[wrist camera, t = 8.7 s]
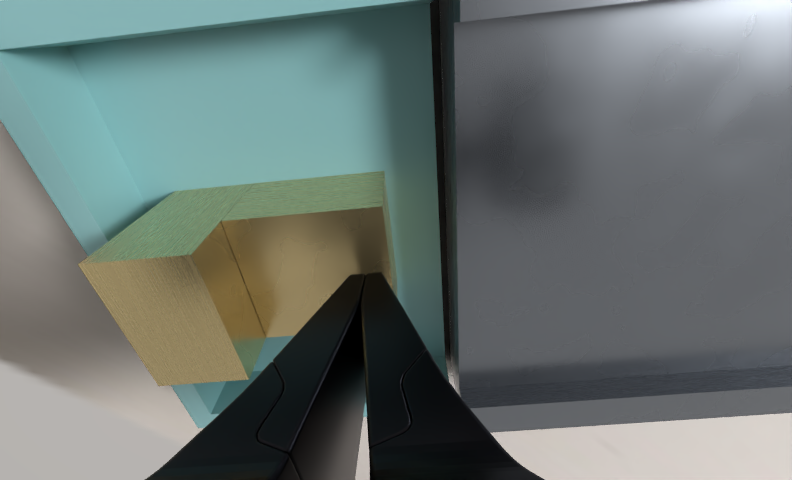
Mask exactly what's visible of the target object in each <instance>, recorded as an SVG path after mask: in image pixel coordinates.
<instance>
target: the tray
mask: <svg viewBox="0 0 792 480" xmlns="http://www.w3.org/2000/svg"><path fill="white" fill-rule="evenodd" d="M432 1H434V0H0V120H1V121H2V123H3V125H4V126H5V128H6V129H7V131H8V132H9V134H10V136H11V137H12V139H13V140H14V142H15V143H16V145H17V146H18V148H19V150H20V151H21V153H22V154H23V156H24V157H25V159H26V160H27V162H28V164H29V165H30V167H31V168H32V170H33V171H34V173H35V174H36V176H37V178H38V179H39V181H40V182H41V184H42V185H43V187H44V188H45V190H46V192H47V193H48V195H49V196H50V198H51V199H52V201H53V202H54V204H55V206H56V207H57V209H58V210H59V212H60V213H61V215H62V217H63V218H64V220H65V221H66V223H67V224H68V226H69V227H70V229H71V231H72V232H73V234H74V235H75V237H76V238H77V240H78V241H79V243H80V245H81V246H82V248H83V249H84V251H85V252H86V254H87V255H88V256H90V255H91V254H92V253H94V252H95V251H96V250H98V249H99V248H100V247H102V246H103V245H104V244H106V243H107V242H108V241H110V240H111V239H112V238H114V237H115V236H116V235H118V234H119V233H120V232H121V231H123V230H124V229H125V228H127V227H128V226H129V225H131V224H132V223H133V222H135V221H136V220H137V219H139V218H140V217H141V216H143V215H144V214H145V213H147V212H148V211H149V210H151V209H152V208H153V207H155V206H156V205H157V204H159V203H160V202H161V201H163V200H164V199H165V198H166V197H168V196H169V195H170V194H172V193H173V192H174V191H180V190H191V189H201V188H211V187H222V186H232V185H242V184H253V183H262V182H272V181H283V180H293V179H303V178H314V177H324V176H335V175H345V174H355V173H366V172H376V171H385V180H386V188H387V197H388V205H389V213H390V222H391V230H392V239H393V247H394V256H395V264H396V272H397V298H398V300H399V302H400V304H401V305H402V307H403V309H404V310H405V312H406V314H407V315H408V317H409V319H410V320H411V322H412V324H413V325H414V327H415V329H416V330H417V332H418V334H419V335H420V337H421V339H422V341H423V342H424V344H425V346H426V347H427V350H428V351H429V352H430V354H431V355H432V357H433V359H434V360H435V362H436V364H437V365H438V367H439V368H440V370H441V371H442V373H443V374H444V376H445V377H446V379H447V380H448V381H449V379H448V373H447V367H446V360H445V346H444V323H443V300H442V276H441V253H440V230H439V207H438V184H437V161H436V138H435V115H434V92H433V69H432V46H431V23H430V3H431V2H432ZM294 336H295V335H294ZM294 336H281V337H268V338H267V337H266V339H265V342H264V344H263V347H262V349H261V352H260V354H259V357H258V359H257V362H256V364H255V366H254V369H253V371H252V374H251V376H250V379H249V380H235V381H222V382H208V383H194V384H181V385H171V386H172V388H173V389H174V391H175V393H176V394H177V396H178V397H179V399H180V400H181V402H182V403H183V405H184V407H185V408H186V410H187V411H188V413H189V414H190V416H191V417H192V419H193V421H194V422H195V424H196V425H197V427H198V428H205V427H206V426H207V425H208V424H209V423H210V422H211V421H212V420H214V419H215V418H216V417H217V416H218V415H219V414H220V413H221V412H222V411H223V410H224V409H225V408H226V407H227V406H228V405H229V404H231V403H232V402H233V401H234V400H235V399H236V398H237V397H238V396H239V395H240V394H241V393H242V392H243V391H244V390H245V389H246V388H247V387H248V386H249V385H250V384H251V383H252V382H253V380H254V379H255V378H256V377H257V376H258V375H259V374H260V373H261V372H262V371H263V370H264V369H265V368H266V367H267V365H268V364H269V363H270V362H273V359H274V358H275V357H276V356H277V355H278V353H279V352H280V351H281V350H282V349H283V348H284V347H285V346H286V345H287V344H288V342H289V341H290V340H291V339H292V338H293V337H294ZM366 416H367V407H366V399H365V406H364V414H363V417H366Z"/></svg>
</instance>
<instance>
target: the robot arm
mask: <svg viewBox="0 0 792 480" xmlns="http://www.w3.org/2000/svg"><path fill="white" fill-rule="evenodd" d="M365 399H366V407H367V424H368V441H369V450H370V451H369V458H370V480H544V479H542V478H541V477H539V476H537V475H536V474H534V473H532V472H531V471H529V470H527V469H526V468H524V467H523V466H522V465H520V464H519V463H518V462H517V461H515V460H514V459H513V458H512V457H511V456H510V455H509V454H508V453H507V452H506V451H505V450H504V449H503V448H502V446H501V445H500V444H499V443H498V442H497V441H496V439H495V438H494V437H493V436H492V435H491V433H490V432H489V431H488V430H487V429H486V427H485V426H484V425H483V424H482V422H481V421H480V420H479V419H478V418H477V416H476V415H475V414H474V413H473V412H472V410H471V409H470V408H469V407H468V405H467V404H466V403H465V402H464V401H463V399H462V398H461V397H460V396H459V394H458V393H457V392H456V390H455V389H454V388H453V387H452V385H451V384H450V383H449V381H448V380H447V379H446V377H445V376H444V374H443V373H442V371H441V370H440V368H439V367H438V365H437V364H436V362H435V360H434V359H433V357H432V355H431V354H430V352H429V351H428V350H427V347H426V346H425V344H424V342H423V341H422V339H421V337H420V335H419V334H418V332H417V330H416V329H415V327H414V325H413V324H412V322H411V320H410V319H409V317H408V315H407V314H406V312H405V310H404V309H403V307H402V305H401V304H400V302H399V300H398V298H397V297H396V295H395V293H394V292H393V290H392V288H391V287H390V285H389V283H388V282H387V280H386V278H385V277H384V275H383V273H381V272H376V273H368V274H366V275H365V274H352V275H350V276H348V277H347V279H346V280H345V281H344V282H343V283H342V284H341V285H340V286H339V287H338V288H337V290H336V291H335V292H334V293H333V294H332V295H331V296H330V297H329V298H328V299H327V301H326V302H325V303H324V304H323V305H322V306H321V307H320V308H319V309H318V311H317V312H316V313H315V314H314V315H313V316H312V317H311V318H310V319H309V320H308V322H307V323H306V324H305V325H304V326H303V327H302V328H301V329H300V330H299V331H298V333H297V334H296V335H295V336H294V337H293V338H292V339H291V340H290V341H289V342H288V344H287V345H286V346H285V347H284V348H283V349H282V350H281V351H280V352H279V353H278V355H277V356H276V357H275V358H274V359H273V362H270V363H269V364H268V365H267V367H266V368H265V369H264V370H263V371H262V372H261V373H260V374H259V375H258V376H257V377H256V378H255V379H254V380H253V382H252V383H251V384H250V385H249V386H248V387H247V388H246V389H245V390H244V391H243V392H242V393H241V394H240V395H239V396H238V397H237V398H236V399H235V400H234V401H233V402H232V403H231V404H229V405H228V406H227V407H226V408H225V409H224V410H223V411H222V412H221V413H220V414H219V415H218V416H217V417H216V418H215V419H214V420H212V421H211V422H210V423H209V424H208V425H207V426H206V427H205V428H204V429H203V430H202V431H201V432H199V433H198V434H197V435H196V436H195V437H194V438H193V439H192V440H191V441H190V442H189V443H188V444H187V445H185V446H184V447H183V448H182V449H181V450H180V451H179V452H178V453H177V454H176V455H175V456H174V457H172V458H171V459H170V460H169V461H168V462H167V463H166V464H165V465H163V467H161V468H160V469H159V470H157V471H156V472H155V473H154V474H152V475H151V476H150V477H148V478H147V479H145V480H355V474H356V467H357V459H358V452H359V444H360V436H361V429H362V421H363V414H364V406H365Z"/></svg>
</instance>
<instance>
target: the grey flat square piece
mask: <svg viewBox="0 0 792 480" xmlns="http://www.w3.org/2000/svg"><path fill="white" fill-rule="evenodd" d="M439 9H440V41H441V72H442V104H443V135H444V166H445V198H446V229H447V260H448V292H449V323H450V355H451V366H452V372H453V378H454V384H455V390H456V392H457V393H458V394H459V396H460V397H461V398H462V399H463V401H464V402H465V403H466V404H467V405H468V407H469V408H470V409H471V410H472V412H473V413H474V414H475V415H476V416H477V418H478V419H479V420H480V421H481V422H482V424H483V425H484V426H485V427H486V429H487V430H488V431H489V432H505V431H520V430H535V429H550V428H566V427H581V426H596V425H611V424H627V423H642V422H657V421H672V420H688V419H703V418H718V417H733V416H749V415H764V414H779V413H792V0H439Z"/></svg>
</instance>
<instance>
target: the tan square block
mask: <svg viewBox="0 0 792 480" xmlns="http://www.w3.org/2000/svg"><path fill="white" fill-rule="evenodd" d="M221 222H222V225H223V227H224V230H225V232H226V235H227V237H228V240H229V243H230V245H231V248H232V250H233V253H234V255H235V258H236V261H237V263H238V266H239V268H240V271H241V273H242V276H243V278H244V281H245V284H246V286H247V289H248V291H249V294H250V296H251V299H252V302H253V304H254V307H255V309H256V312H257V314H258V317H259V320H260V322H261V325H262V327H263V330H264V332H265V335H266V337H267V338H268V337H281V336H294V335H296V334H297V333H298V331H299V330H300V329H301V328H302V327H303V326H304V325H305V324H306V323H307V322H308V320H309V319H310V318H311V317H312V316H313V315H314V314H315V313H316V312H317V311H318V309H319V308H320V307H321V306H322V305H323V304H324V303H325V302H326V301H327V299H328V298H329V297H330V296H331V295H332V294H333V293H334V292H335V291H336V290H337V288H338V287H339V286H340V285H341V284H342V283H343V282H344V281H345V280H346V279H347V277H348V276H350V275H352V274H365V275H366V274H368V273H376V272H381V273H383V275H384V277H385V278H386V280H387V282H388V283H389V285H390V287H391V288H392V290H393V292H394V293H395V295H396V297H397V272H396V264H395V256H394V247H393V239H392V230H391V222H390V213H389V205H388V197H387V188H386V180H385V171H376V172H366V173H355V174H345V175H335V176H324V177H314V178H303V179H293V180H283V181H272V182H262V183H254V184H253V186H252V187H251V188H250V189H249V190H248V191H247V192H246V194H245V195H244V196H243V197H242V198H241V199H240V200H239V201H238V203H237V204H236V205H235V206H234V207H233V208H232V209H231V211H230V212H229V213H228V214H227V215H226V216H225V217H224V218H223V220H222V221H221Z"/></svg>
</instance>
